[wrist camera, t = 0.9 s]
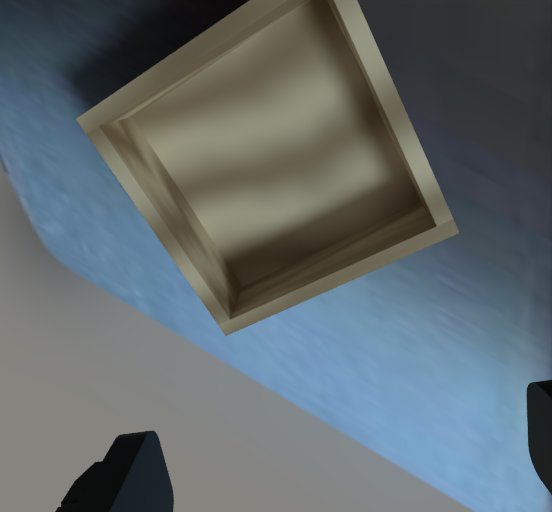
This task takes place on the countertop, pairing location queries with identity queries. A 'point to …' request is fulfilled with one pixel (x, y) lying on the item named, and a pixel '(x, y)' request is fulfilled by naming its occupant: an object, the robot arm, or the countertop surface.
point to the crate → (273, 158)
